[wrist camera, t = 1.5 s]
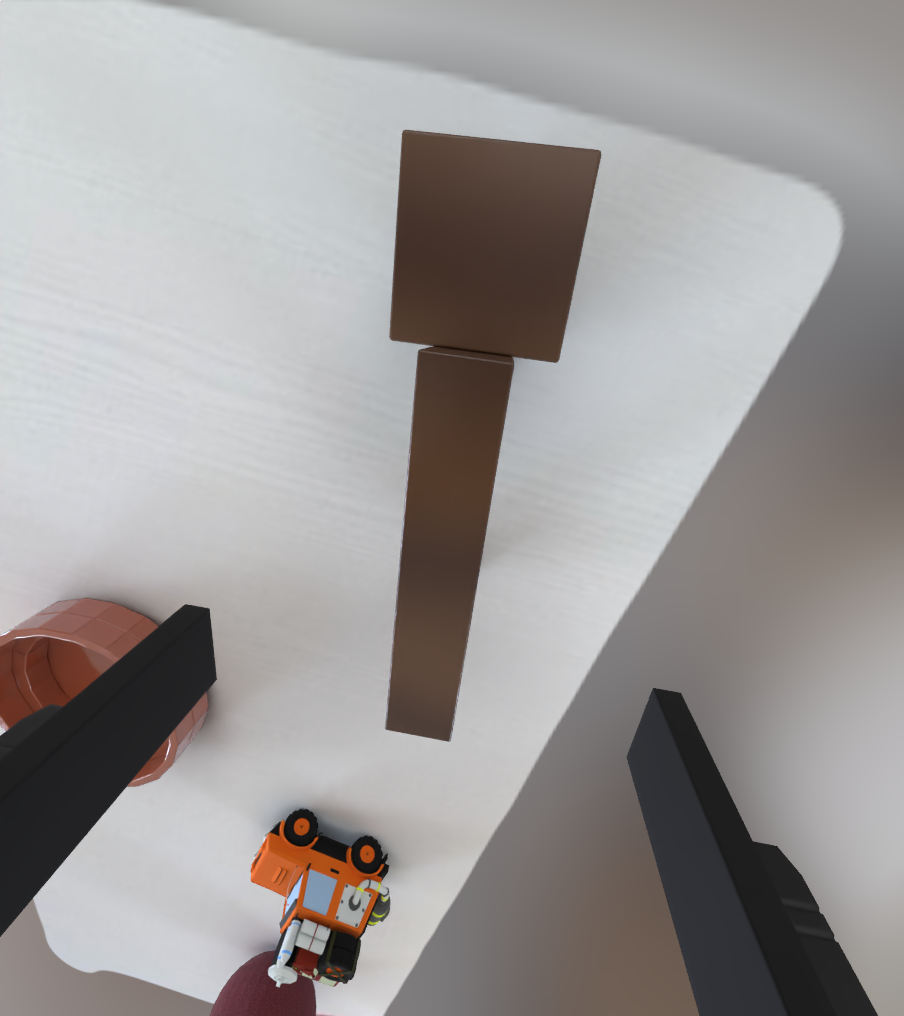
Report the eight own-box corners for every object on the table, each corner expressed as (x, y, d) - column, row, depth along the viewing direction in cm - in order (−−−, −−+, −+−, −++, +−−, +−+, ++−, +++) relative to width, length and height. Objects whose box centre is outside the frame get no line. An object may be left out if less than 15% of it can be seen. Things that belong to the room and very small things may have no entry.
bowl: (15, 578, 32) (-50, 611, 28) (203, 612, 31) (162, 651, 27) (59, 722, 37) (9, 766, 33) (220, 755, 36) (187, 803, 33)
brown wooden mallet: (495, 574, 27) (486, 749, 16) (415, 560, 27) (349, 723, 16) (559, 232, 20) (625, 106, 9) (450, 219, 20) (377, 82, 9)
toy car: (384, 888, 40) (353, 1029, 32) (262, 839, 40) (199, 970, 32) (411, 847, 38) (384, 990, 30) (281, 795, 37) (217, 926, 29)
